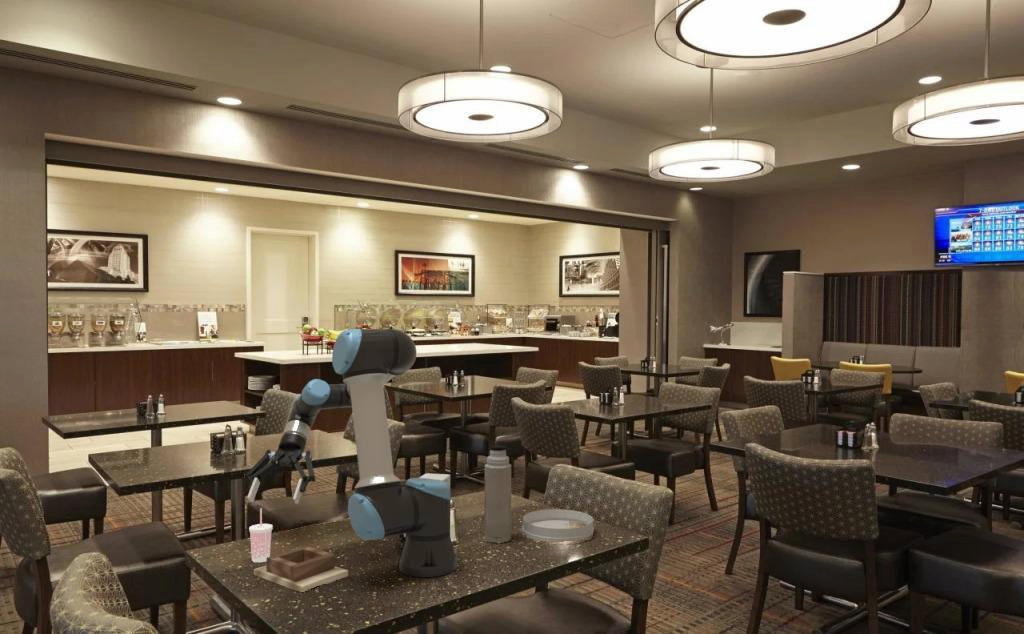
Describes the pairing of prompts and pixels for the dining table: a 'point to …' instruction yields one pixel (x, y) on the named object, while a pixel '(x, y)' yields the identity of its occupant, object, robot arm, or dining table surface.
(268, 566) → the collar stand
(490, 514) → the thermos bottle
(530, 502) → the dining table surface
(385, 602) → the dining table surface
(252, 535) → the beverage cup
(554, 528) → the dish
